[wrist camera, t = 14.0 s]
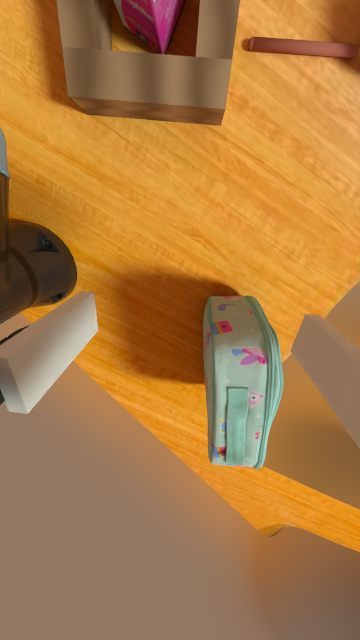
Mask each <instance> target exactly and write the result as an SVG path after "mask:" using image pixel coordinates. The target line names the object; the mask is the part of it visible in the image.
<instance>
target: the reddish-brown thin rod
mask: <svg viewBox="0 0 360 640" xmlns="http://www.w3.org/2000/svg"><path fill="white" fill-rule="evenodd" d="M248 48H249V50H251V51H264V52H277V53H291V54H304V55H318V56H332V57H345V58H352V57H353V56H354V55H355V54H356V53H357V51H358V45H357V44H348V43H334V42H320V41H306V40H292V39H278V38H265V37H252V38H250V40H249V42H248Z"/></svg>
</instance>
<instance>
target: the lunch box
mask: <svg viewBox="0 0 360 640" xmlns="http://www.w3.org/2000/svg"><path fill="white" fill-rule="evenodd" d="M203 359H204V375H205V389H206V403H207V413H208V457H209V459H210V462H211V463H212V464H217V465H227V466H244V467H254V469H259V468H261V466H262V465H263V463H264V460H265V455H266V448H267V440H268V435H269V431H270V427H271V424H272V421H273V419H274V416H275V413H276V410H277V408H278V406H279V402H280V399H281V396H282V391H283V372H282V363H281V354H280V346H279V342H278V339H277V335H276V333H275V331H274V329H273V328H272V326H271V325H270V323H269V321H268V319H267V317H266V315H265V313H264V312H263V310H262V308H261V306H260V304H259V302H258V301H257V300H256V298H254V297H252V296H210V297H208V301H207V303H206V306H205V310H204V315H203Z"/></svg>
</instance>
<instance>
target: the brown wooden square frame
mask: <svg viewBox="0 0 360 640" xmlns="http://www.w3.org/2000/svg"><path fill="white" fill-rule="evenodd" d="M56 2H57V10H58V18H59V27H60V35H61V43H62V51H63V59H64V67H65V76H66V84H67V92H68V97H69V98H70V99H71V100H72V101H74V102H75V103H76V104H77V105H78V106H79V107H80V108H81V109H82V110H83V111H84V112H85V113H86V114H87V115H99V116H111V117H123V118H135V119H147V120H160V121H172V122H184V123H196V124H208V125H221V122H222V119H223V115H224V112H225V107H226V100H227V93H228V85H229V78H230V70H231V63H232V55H233V48H234V41H235V33H236V26H237V18H238V11H239V3H240V0H200V8H199V21H198V33H197V46H196V57H192V56H179V55H166V54H152V53H139V52H126V51H112V40H111V19H110V0H56Z"/></svg>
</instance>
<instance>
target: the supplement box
mask: <svg viewBox="0 0 360 640" xmlns="http://www.w3.org/2000/svg"><path fill="white" fill-rule="evenodd" d="M184 2H185V0H114V3H115V5H116V8H117V10H118V13H119V15H120V18H121V20H122V23H123V26H124V27H125V28H126V29H127V30H129V31H130V32H131V33H133V34H134V35H136V36H137V37H138V38H139V39H140V40H142V41H143V42H144V43H145V44H146V45H148V46H149V47H150V48H151V49H152V50H154V51H155V52H156V53H157V54H166V51H167V48H168V46H169V43H170V40H171V38H172V35H173V32H174V30H175V27H176V24H177V21H178V19H179V16H180V13H181V10H182V8H183V5H184Z"/></svg>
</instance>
